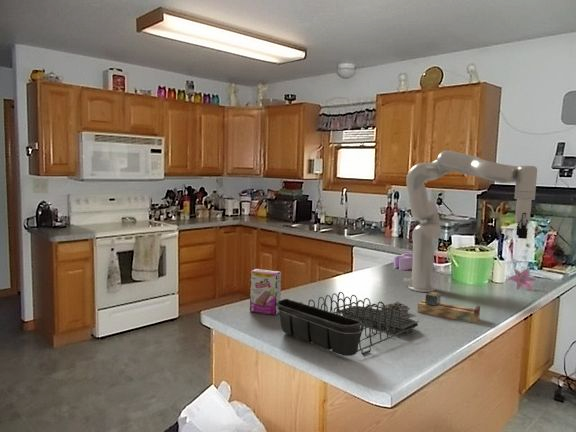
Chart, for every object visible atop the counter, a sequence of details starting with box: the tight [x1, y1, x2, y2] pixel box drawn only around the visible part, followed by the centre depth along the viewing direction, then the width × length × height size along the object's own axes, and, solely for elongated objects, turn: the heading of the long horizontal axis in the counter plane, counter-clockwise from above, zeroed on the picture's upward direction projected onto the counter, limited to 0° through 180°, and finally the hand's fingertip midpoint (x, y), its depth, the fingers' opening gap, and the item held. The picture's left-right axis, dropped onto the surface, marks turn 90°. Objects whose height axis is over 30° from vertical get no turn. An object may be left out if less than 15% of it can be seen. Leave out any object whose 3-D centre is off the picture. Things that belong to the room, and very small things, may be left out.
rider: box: [425, 291, 442, 306], centre depth 178 cm, size 4×6×5 cm
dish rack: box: [276, 291, 420, 357], centre depth 154 cm, size 34×44×12 cm
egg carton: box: [380, 301, 411, 316], centre depth 176 cm, size 11×8×4 cm
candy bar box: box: [249, 268, 282, 316], centre depth 174 cm, size 11×5×16 cm, turn 71°
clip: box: [393, 253, 413, 271], centre depth 263 cm, size 20×12×7 cm, turn 125°
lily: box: [507, 267, 537, 292], centre depth 220 cm, size 12×12×10 cm
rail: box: [417, 299, 481, 324], centre depth 175 cm, size 22×6×5 cm, turn 58°
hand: (521, 236), depth 187 cm, fingers open, 9 cm apart
